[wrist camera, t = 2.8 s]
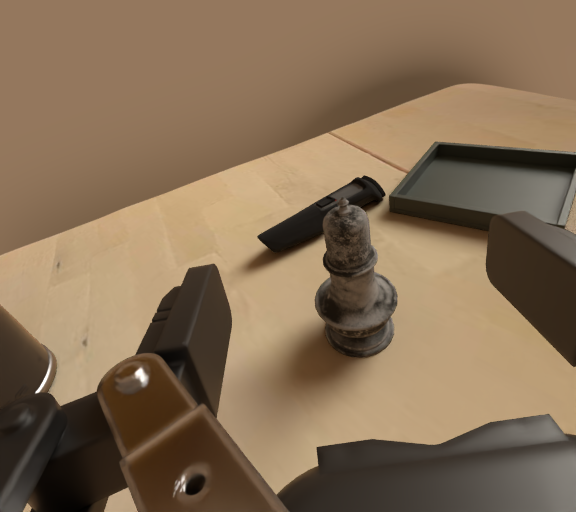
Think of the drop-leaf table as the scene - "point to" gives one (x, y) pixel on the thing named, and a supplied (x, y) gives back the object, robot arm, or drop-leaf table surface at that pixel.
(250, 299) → the drop-leaf table surface
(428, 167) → the tray
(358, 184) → the electric trimmer
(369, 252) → the salt shaker
